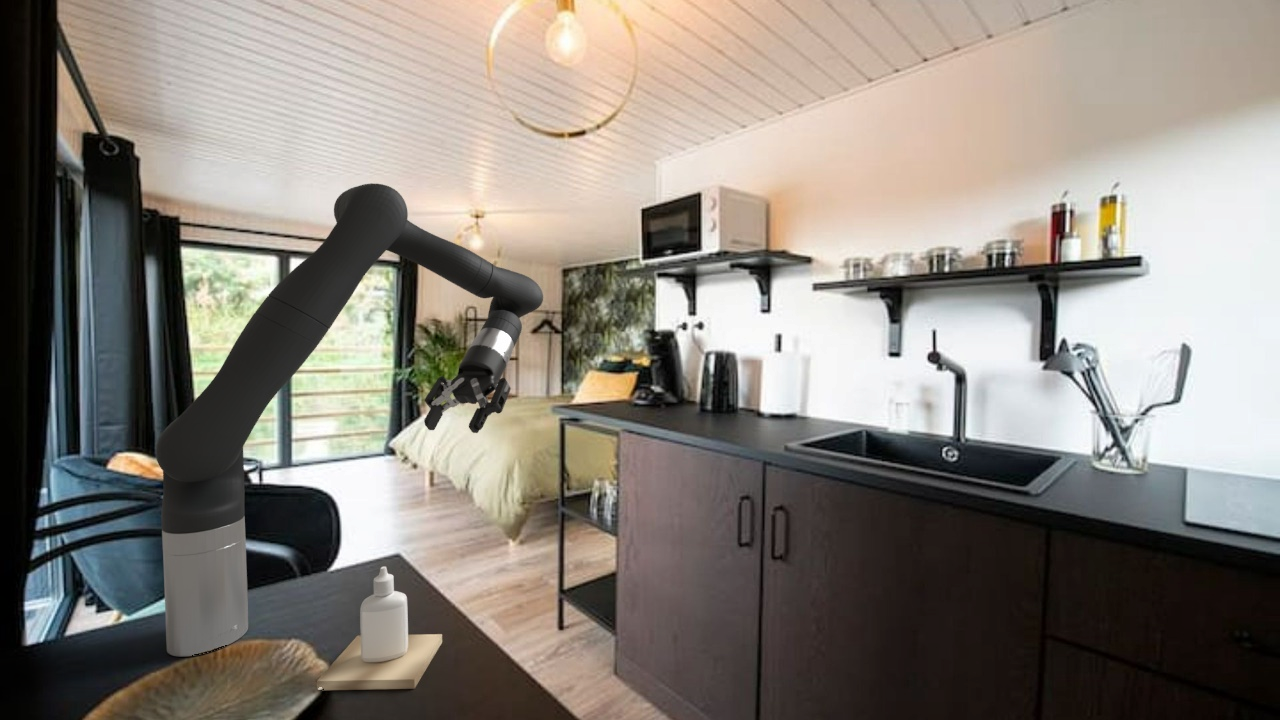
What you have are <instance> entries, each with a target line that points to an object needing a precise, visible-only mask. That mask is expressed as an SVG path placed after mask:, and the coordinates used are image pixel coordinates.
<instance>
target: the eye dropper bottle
mask: <svg viewBox="0 0 1280 720" xmlns="http://www.w3.org/2000/svg"><path fill="white" fill-rule="evenodd" d="M394 577H395V576H394V575H393V574H391V573H388V569H387V566H381V567H379V574H378V575H377V576H375V577H374V578H373V594H371V595H370V596H368V597H366V598H365V599H363V601H362V603H361V605H360V609H359V613H360V614H359V617H360V618H359V620H360V621H359V623H360V625H359V626H360V635H361V659H362V661H364V662H384V661H388V660H392V659H396V658H399V657H401V656H403V655H405V653H406V652H407V648H408V635H409V621H408V620H409V619H408V618H409V616H408V610H409V609H408V597H407V594H405V593H404V592H401V591H397V590H395V582H394Z"/></svg>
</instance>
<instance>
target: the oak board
mask: <svg viewBox="0 0 1280 720" xmlns="http://www.w3.org/2000/svg"><path fill="white" fill-rule="evenodd" d="M442 643H443V634H442V633H437V634H436V633H435V634H430V633H429V634H428V633H426V634H408V648H407V652H406V653H405V655H403V656H401V657H399V658H396V659H392V660H388V661H384V662H364V661H362V659H361V634H360V635H357V636H355V638H354V639H353V640H352V641H351V642H350V644H349V645H348V646H347V647H346V648H345V649H344V650H343V651H342V653H340V655H339V656H337V658H336V659H335V660H334V661H333V663H332V664H330V666H329V667H327V669H326V670H325V671H324V672H323V674H322V675H321V676H320V677H319V678H318V679H317V681H316V689H317V688H319V687H322V688H324V690H323V691H353V690H354V691H355V690H363V691H365V690H408V689H410V690H411V689H413V690H414V689H416V687H417V686H418V683H419V682H420V680H421V678H422V677H423V675H424V674H425V672H426V670H427V668H428V667H429V665H430V663H431V661H432V660H433V659H434V657H435V655H436V654H437V652H438V651H439V649H440V646H442Z"/></svg>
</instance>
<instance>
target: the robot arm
mask: <svg viewBox="0 0 1280 720" xmlns="http://www.w3.org/2000/svg"><path fill="white" fill-rule="evenodd" d="M333 215H334V219H335V222H336V223H335V225H334V226H333V228H332V230H331V231H330V232H329V234H328V235H327V237H326V238H325V239H324V241H323V242H322V243H321V245H320V246H318V248H317V249H316V250H315V251H314V252H313V253H311V255H309V256H308V257H307V258H306V259H304V260H303V261H302V262H301V263H299V264H298V265H297V266H296V267H295V268H294V269H292V270H291V271H290V272H289V273H288V274H287V275H286V276H285V277H283V279H282V280H280V282H278V284H277V285H276V286H275V287H273V288H272V290H271V291H270V293H269V294H268V296H266V298H265V299H264V300H263V301H262V303H261V304H260V306H259V307H258V308H257V309H256V310H255V312H254V313H253V314H252V315H251V318H250V319H249V320H248V322H247V323H246V325H245V326H244V327H243V330H242V331H241V333H239V336H238V337H237V339H236V341H235V342H234V344H233V346H232V348H231V350H230V351H229V353H228V355H227V356H226V359H225V360H224V362H223V363H222V365H221V367H220V369H219V370H218V372H217V374H216V375H215V376H214V377H213V379H212V380H211V381H210V383H209V384H208V385H207V387H205V389H203V390H202V392H201V393H200V394H199V395H198V397H196V399H194V401H192V403H191V404H190V405H189V406H188V407H187V408H186V409H185V410H184V411H183V412H182V413H181V414H180V415H179V416H178V417H177V418H176V419H174V420H173V421H172V422H171V423H169V425H168V426H167V427H166V428H165V429H163V431H162V432H161V434H160V435H159V436H158V439H157V442H156V444H155V457H156V461H157V464H158V466H159V468H160V469H161V470H162V478H163V479H162V483H163V485H162V486H163V492H162V493H163V494H162V504H161V512H160V514H161V517H160V519H161V521H160V523H161V538H162V541H161V542H162V543H161V544H162V556H163V557H162V558H163V559H162V563H163V564H162V565H163V583H164V584H163V585H164V613H165V637H166V639H165V640H166V642H165V643H166V652H167V654H168V655H171V656H173V657H180V658H181V657H192V655H193V656H195V655H194V654H198V653H201V652H205V651H207V650H212V649H214V648H218V647H221V646H224V647H226V646H225V645H227V646H228V645H230V644H232V643H234V642H236V641H238V640H239V639H240V638H242V637H243V636H244V635H245V634H246V633H247V631H249V630H248V629H249V609H248V608H249V607H248V605H249V604H248V601H249V600H248V576H247V575H248V572H247V568H248V567H247V548H246V547H247V545H246V540H247V539H246V522H245V521H246V520H245V519H246V517H245V516H246V515H245V514H246V513H245V474H244V473H245V472H244V469H245V468H244V465H245V464H244V463H245V462H244V446H245V444H246V442H247V440H248V438H249V436H250V435H251V433H252V431H253V429H254V428H255V426H256V424H257V423H258V422H259V419H260V418H261V415H262V414H263V413H264V411H265V409H266V408H267V407H268V405H269V404H270V402H271V401H272V400H273V399H274V397H275V396H276V395H277V394H278V393H279V392H280V390H281V389H282V388H283V387H284V386H285V385H286V384H287V382H288V381H289V380H290V379H292V377H293V376H294V375H295V374H296V372H298V370H299V369H300V368H301V367H302V366H303V364H305V362H306V360H308V358H309V357H310V356H311V354H312V353H313V352H314V351H315V349H316V348H317V347H318V346H319V344H320V343H321V341H322V340H323V339H324V337H325V336H326V334H327V333H328V331H329V330H330V329H331V328H332V326H333V324H334V323H335V321H336V319H337V318H338V316H339V315H340V314H341V312H342V310H344V308H345V307H346V305H347V303H348V302H349V300H350V299H351V297H352V296H353V294H354V293H355V291H356V289H357V288H358V286H359V284H360V282H361V281H362V280H363V278H364V277H365V276H366V274H367V273H368V271H369V270H370V269H371V268H372V266H374V264H375V263H376V262H377V261H378V260H379V259H380V258H381V257H382V255H383V254H384V253H385V252H386V251H388V252H390V253H393V254H394V255H397V256H400V257H402V258H404V259H407V260H408V261H410V262H413V263H415V264H417V265H419V266H421V267H423V268H424V269H426V270H428V271H430V272H432V273H434V274H436V275H437V276H439V277H441V278H443V279H445V280H446V281H448V282H451V283H452V284H454V285H456V286H457V287H459V288H461V289H463V290H465V292H468V293H470V294H472V295H474V296H475V297H478V298H481V299H490V298H492V299H491V301H490V305H489V309H488V312H487V313H488V314H487V318H486V320H485V322H484V324H483V325H482V327H481V329H480V330H479V332H478V334H477V335H475V337H474V339H473V340H472V342H471V344H470V346H469V348H468V349H467V351H466V352H465V355H464V357H463V358H462V360H461V362H460V364H459V366H458V372H457V375H456V376H455V377H454V378H452V379H446V378H445V376H444V375H442V376H439V377H438V378H437V380H436V381H435V383H434V384H433V386H432V387H431V389H430V391H429V392H428V393H427V395H426V396H425V398H424V403H425V404H426V405H427V406H428V408H429V411H428V412H427V414H426V416H425V418H424V421H423V422H424V425H425V427H426V428H427V430H429V431H435V429H436V428H437V426H438V423H439V422H440V421H441V418H442V417H443V415H444V414H443V413H445V412H446V411H447V410H449V409H450V408H455V407H456V406H459V404H472V405H476V404H477V403H478V406H479V408H478V407H477V408H476V410H475V412H474V413H473V415H472V417H471V420H470V421H469V423H468V429H469V430H470V431H471V432H472V433H473V434H478V433H479V431H481V430H482V429H483V427H484V425H485V423H486V422H487V419H488V417H489V416H491V415H492V414H494V413H496V414H500V413H502V412H503V411H504V407H505V405H506V402H507V400H508V397H509V394H510V392H511V389H512V388H511V385H509V382H508V380H507V379H506V378H505V377H502V376H503V374H504V373H505V370H506V368H507V366H508V363H509V362H510V359H511V357H512V355H513V351H514V348H515V346H516V344H517V342H518V340H519V338H520V335H521V333H522V330H523V326H522V322H521V319H520V318H522V317H524V316H526V315H528V314H530V313H532V312H535V311H536V310H537V309H539V308H540V307H541V306H542V304H543V302H544V293H543V290H542V289H541V287H540V286H539V284H538V283H537V282H536V281H535V280H534V279H532V278H531V277H529V276H527V275H526V274H522V273H520V272H516V271H513V270H510V269H508V268H503V267H499V266H496V265H495V264H493V263H492V262H490V261H488V260H487V259H485V258H483V257H482V256H481V255H478V254H477V253H475V252H473V251H471V250H469V248H467V247H466V248H465V247H464V246H461V245H459V244H457V243H454V242H452V241H450V240H447V239H444V238H442V237H439V236H437V235H435V234H434V233H431V232H429V231H427V230H425V229H423V228H422V227H421V228H420V226H417V225H416V224H415V223H413V222H411V221H410V220H408V215H409V213H408V207H407V204H406V200H405V199H404V198H403V196H402V195H401V194H400V193H399V191H397V190H396V189H395V188H393V187H391V186H389V185H386V184H382V183H364V184H360V185H356V186H354V187H351V188H348V189H347V190H345V191H343V192H342V193H341V194H339V196H338V197H337V198H336V200H335V202H334V206H333ZM493 392H494V393H493ZM491 393H493V395H492V398H491V400H490V402H489V399H488V396H489V395H490V394H491ZM452 394H453V397H454V399H452V398H451V395H452ZM445 401H446V402H445Z"/></svg>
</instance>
